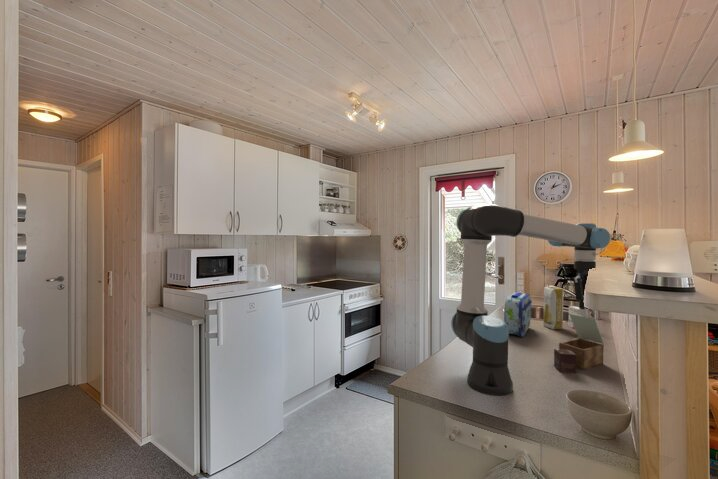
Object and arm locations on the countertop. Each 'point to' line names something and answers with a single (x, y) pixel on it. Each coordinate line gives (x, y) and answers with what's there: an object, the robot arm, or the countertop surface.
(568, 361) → the box
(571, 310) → the ink box
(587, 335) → the lid
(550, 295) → the juice carton
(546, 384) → the countertop surface
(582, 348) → the crate
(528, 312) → the lunch box
